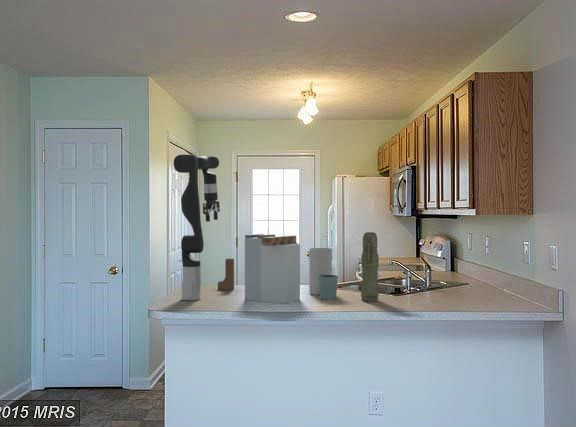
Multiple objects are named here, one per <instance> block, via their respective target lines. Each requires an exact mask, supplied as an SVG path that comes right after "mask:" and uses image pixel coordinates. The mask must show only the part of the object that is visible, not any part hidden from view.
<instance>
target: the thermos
mask: <svg viewBox="0 0 576 427" xmlns="http://www.w3.org/2000/svg"><path fill="white" fill-rule="evenodd" d="M362 235H363V236H362V254H361V255H360V256H361V260H360V261H361V269H362V270H361V273H362V275H361V276H362V278H361V282H362V283H361V289H360V296H361V300H363V301H362V302H365V301H376V300H378V301H379V296H380V294H379V293H380V292H379V287H378V286H379V285H378V280H379V279H378V276H379V274H378V273H379V272H378V270H379V269H378V268H379V267H380V266H379V260H380V259H379V258H380V257H379V254H378V236H377V233H375V232H374V231H373V232H372V231H371V232H370V231H369V232H365V233H363V234H362Z"/></svg>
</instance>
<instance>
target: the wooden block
mask: <svg viewBox="0 0 576 427" xmlns="http://www.w3.org/2000/svg"><path fill="white" fill-rule="evenodd" d="M224 267H225V274H224V275H225V277H224V279H223V280H219V281H218V282H217V291H233V290H234V289H235V258H226V259H225V266H224Z"/></svg>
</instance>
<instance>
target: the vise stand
mask: <svg viewBox="0 0 576 427" xmlns="http://www.w3.org/2000/svg"><path fill="white" fill-rule="evenodd" d="M263 237H276V234H274V233H273V234H263V233H257V234H256V233H255V234H245V235H244V300H248V301H256V302H264V303H265V302H267V303H274V304H275V303H276V304H289V303H290V304H291V303H294V302H297V301H300V300H301V244H300V243H298V242H296V243H288V244H281V245H274V246H263Z"/></svg>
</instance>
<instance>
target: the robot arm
mask: <svg viewBox="0 0 576 427" xmlns="http://www.w3.org/2000/svg"><path fill="white" fill-rule="evenodd" d="M219 165H220V160H219V157H217V156H215V155H205V156H202V155H199V156H196V154H192V153H191V154H178V155H176V156H175V157H174V159H173V168H174V170H175V172H178V173H185V174H186V173H187V174H188V183H187V185H186V187H185V190H184V191H183V193H182V195H181V198H180V203H181V211H182V214H183V216H184V217H185V220H187V222H188V223H189V224H190V226H191V228H192V230H193V234H194V235H192V234H190V235H189V234H187V235H183V236H182V238H181V242H180V243H181V244H180V247H181V248H180V249H181V262H182V263H181V264H182V275H181V276H182V281H181V300H182V301H198V300H201V260H199V259H197V258H196V257H194V256H192V254H201V253H202V252H203V251H204V246H205V245H204V236H203V230H202V221H201V220H202V219H201V206H200V196H199V195H200V193H199V170H201V171H202V176H203V197H204V200H203V201H206V202H203V203H202V214H203V215H205V221H206V222H207V223H208V222H211V212H213V220H214V221H217V220H218V219H219V216H218V213H219V212H221V210H220V206H221V205H220V201H218V200H219V196H218V183H217V174H216V173H214V172H210V171H209V170H211V169H213V170H214V169H215V170H216V169H218V167H219Z"/></svg>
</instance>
